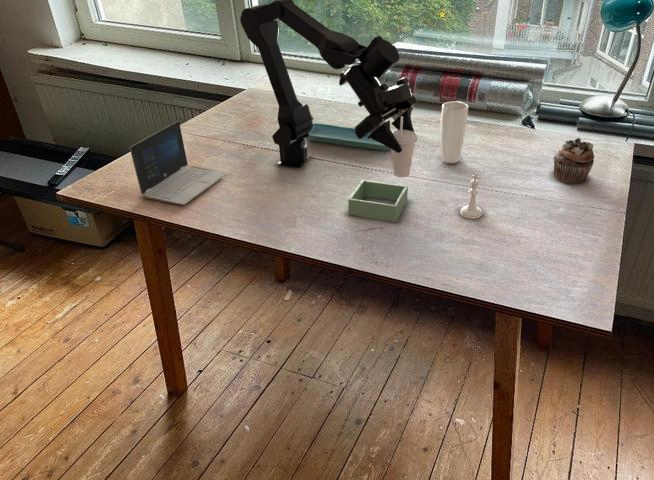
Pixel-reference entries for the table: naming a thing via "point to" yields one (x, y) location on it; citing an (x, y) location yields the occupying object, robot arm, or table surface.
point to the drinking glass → (453, 130)
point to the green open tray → (375, 208)
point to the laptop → (169, 168)
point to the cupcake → (573, 161)
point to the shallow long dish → (342, 137)
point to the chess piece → (472, 201)
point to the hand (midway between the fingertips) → (407, 147)
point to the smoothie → (403, 151)
